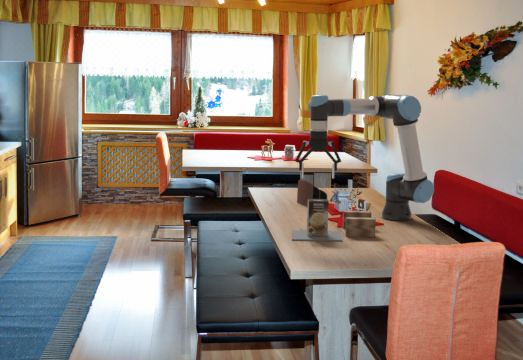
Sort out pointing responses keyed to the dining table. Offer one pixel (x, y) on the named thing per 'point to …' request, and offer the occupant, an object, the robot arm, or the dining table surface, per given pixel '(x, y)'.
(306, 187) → the letter holder
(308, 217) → the coffee box
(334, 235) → the rubber mat
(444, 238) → the dining table surface
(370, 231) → the packet holder
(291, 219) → the dining table surface
